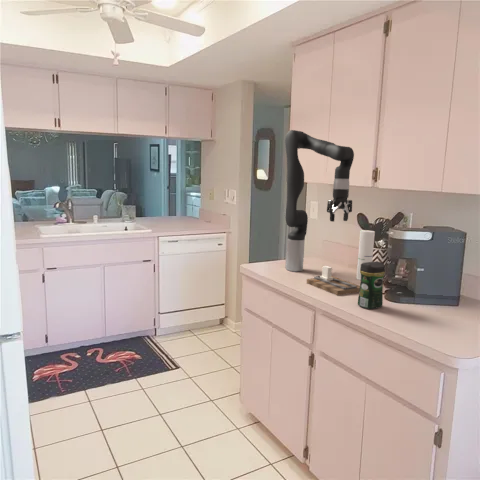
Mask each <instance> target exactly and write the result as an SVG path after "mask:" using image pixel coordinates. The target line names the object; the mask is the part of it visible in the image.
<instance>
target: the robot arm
mask: <svg viewBox="0 0 480 480" xmlns="http://www.w3.org/2000/svg"><path fill="white" fill-rule="evenodd" d="M284 143H285V152H286V153H285V154H286V208H285V223H286V225H287V226H288V227H289V228H294V229H293V230H292V231H291V232H289V233H288V234H287V242H286V243H287V246H286V247H287V248H286V252H285V267H284V268H285V269H286V271H289V272H302V271H304V258H305V240H306V239H305V238H306V236H307V231H308V220H309V219H308V218H309V217H308V214H307V211H305V210H304V209H297V205H298V199H299V197H300V195H301V194H302V192H303V189H304V187H305V172H304V169H303V166H302V164H301V161H300V160H299V154H298V152H299V151H298V150H299V149H303V150H304V149H306V150H311V151H313V152H314V153H317V154H319V155H321V156H324V157H327V158H331V159H332V160H335V161H337V162H340V163H339V166H337V167H335V168H334V181H333V188H332V199H328V200H327V203H326V205H327V206H326V212H327V213H329V221H330V222H335V219H336V218H335V217H336V216H335V215H336V214H335V213H336V212H337V211H338V210H342V211H343V218H342V219H343V221H344V222H347V221H348V220H349V214H350V213H352V211H353V200H352V199H348V198H349V194H350V193H349V192H350V173H351V172H350V171H351V168H352V165H353V162H354V159H355V153H354V150H353V148H352V147H350V146H344V145H340V144H339V145H338V144H336V143H334V142H330V141H327V140H323V139H318V138H315V137H314V136H311V135H309V134H308V133H305V132H304V131H300V130H294V129H291V130H288V131H287V133H286V134H285V139H284Z"/></svg>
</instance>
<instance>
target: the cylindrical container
mask: <svg viewBox="0 0 480 480" xmlns="http://www.w3.org/2000/svg"><path fill="white" fill-rule="evenodd" d="M375 234H376V231H374V230H367V229H363V230H362V229H361V230H360V231H359V239H358V241H359V243H358V254H357V267H356V279H355V280H358V281H361V273H360V268H361V264H362V263H366V262H373V257H374V246H375V237H376V236H375Z"/></svg>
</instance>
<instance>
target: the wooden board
mask: <svg viewBox="0 0 480 480" xmlns="http://www.w3.org/2000/svg"><path fill="white" fill-rule="evenodd" d="M320 276H321V275H316V276H314V278H313V277H311V278H307V279H306V284H308V285H311V286H313V287H316V288H318V289H320V290H322V291H326V292H328V293H330V294H333V295H335V296H341V295H347V294H348V295H349V294H355V293H359V290H360V285H359V284H357V283H356V284H355V283H353V282H350V281H347V280H344V279H342V278H339V277H336V276H333V275H331V277H332V278H333V280H331V281H327V280H324V279H322V278H320Z"/></svg>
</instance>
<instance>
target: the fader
mask: <svg viewBox="0 0 480 480" xmlns="http://www.w3.org/2000/svg"><path fill="white" fill-rule="evenodd" d="M321 267H322V269H321V275H319V276H320V278H322V279H324V280H327V281H331V280H333V278H332V277H331V276H332V273H333V271H332V270H333V267H331V266H328V265H323V266H321Z"/></svg>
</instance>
